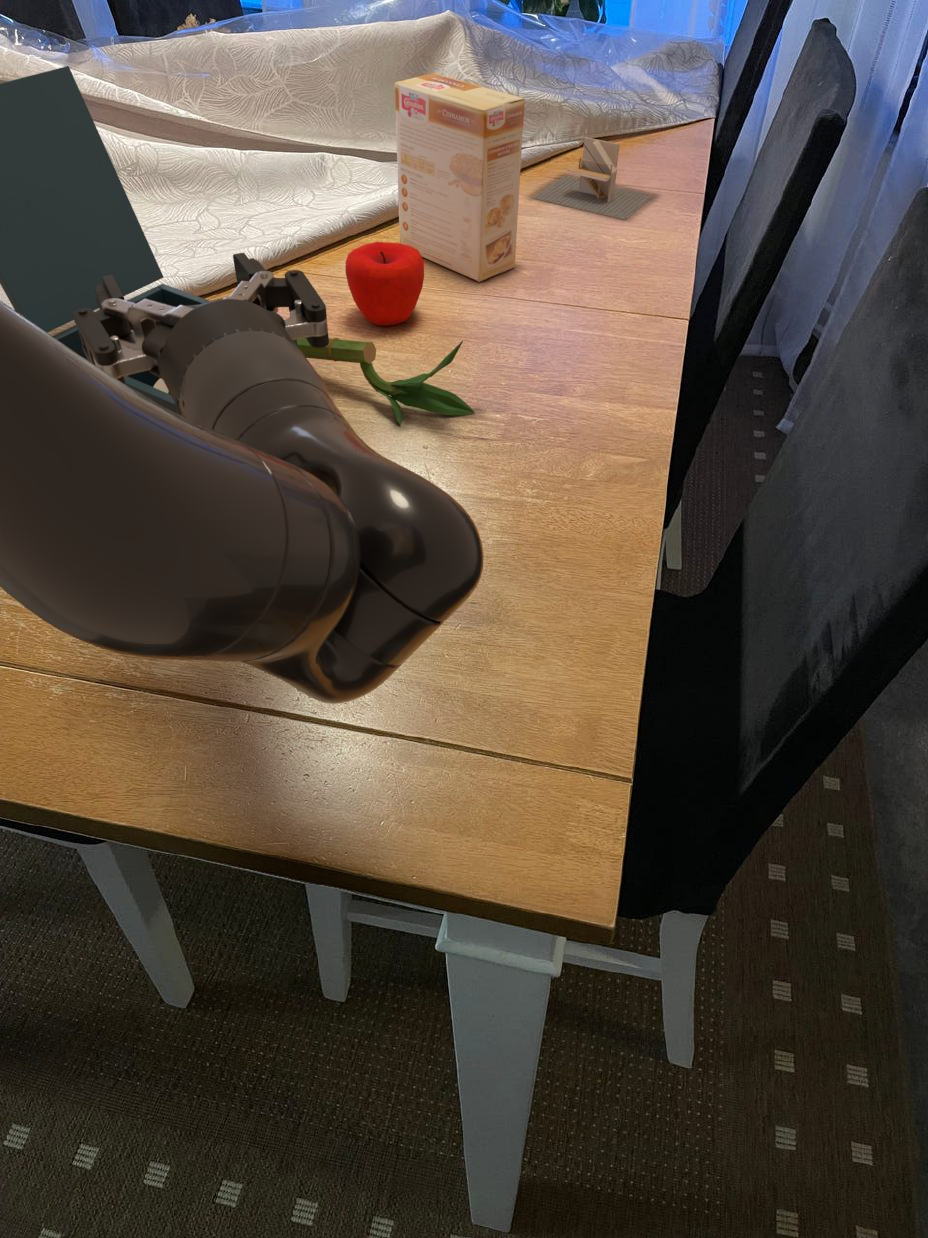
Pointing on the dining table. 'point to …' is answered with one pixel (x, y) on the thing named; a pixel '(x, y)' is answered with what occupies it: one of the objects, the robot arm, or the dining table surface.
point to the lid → (61, 205)
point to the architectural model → (595, 184)
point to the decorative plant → (402, 390)
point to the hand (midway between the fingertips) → (176, 278)
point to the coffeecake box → (459, 173)
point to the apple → (385, 281)
